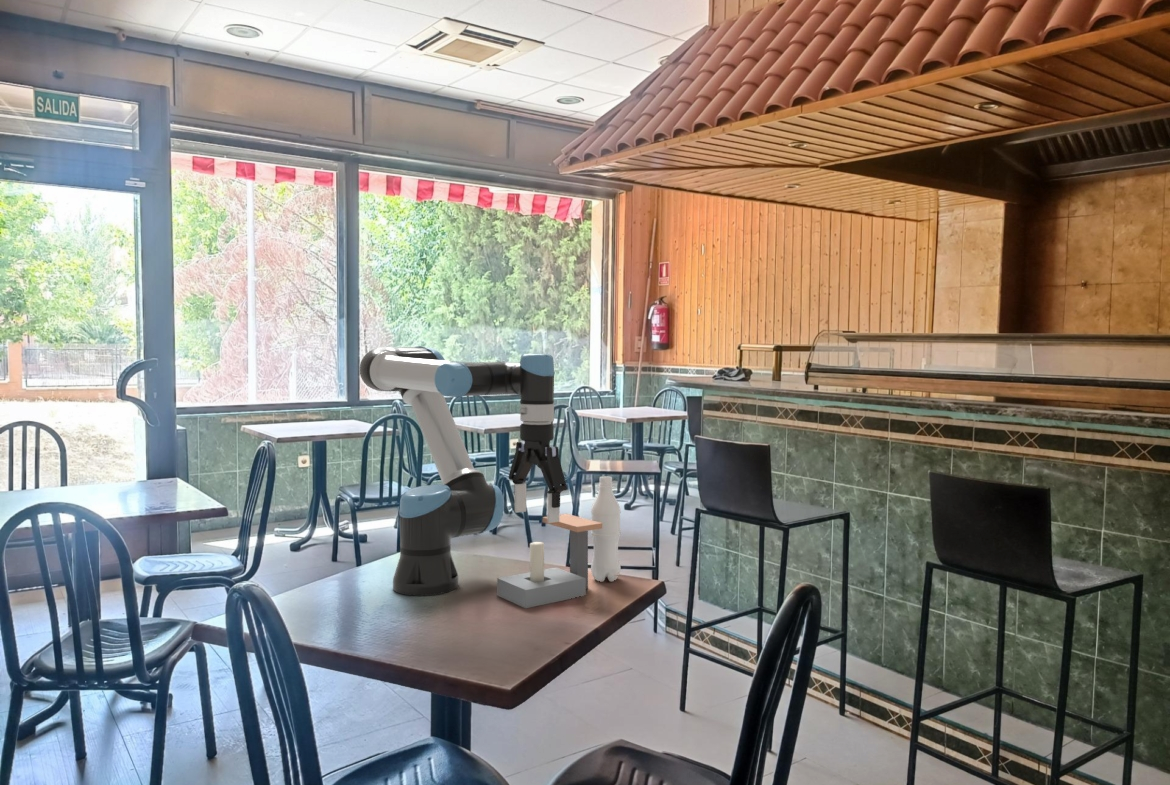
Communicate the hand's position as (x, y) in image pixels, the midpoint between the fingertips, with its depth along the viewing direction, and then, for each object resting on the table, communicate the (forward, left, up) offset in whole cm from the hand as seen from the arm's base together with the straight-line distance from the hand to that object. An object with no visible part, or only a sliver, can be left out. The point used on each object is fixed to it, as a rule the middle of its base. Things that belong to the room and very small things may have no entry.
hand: (536, 516), depth 183 cm
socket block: (0, +1, -18) cm, 18 cm away
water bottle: (-2, +21, -18) cm, 28 cm away
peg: (0, 0, -18) cm, 18 cm away
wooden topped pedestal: (0, +10, -18) cm, 20 cm away
